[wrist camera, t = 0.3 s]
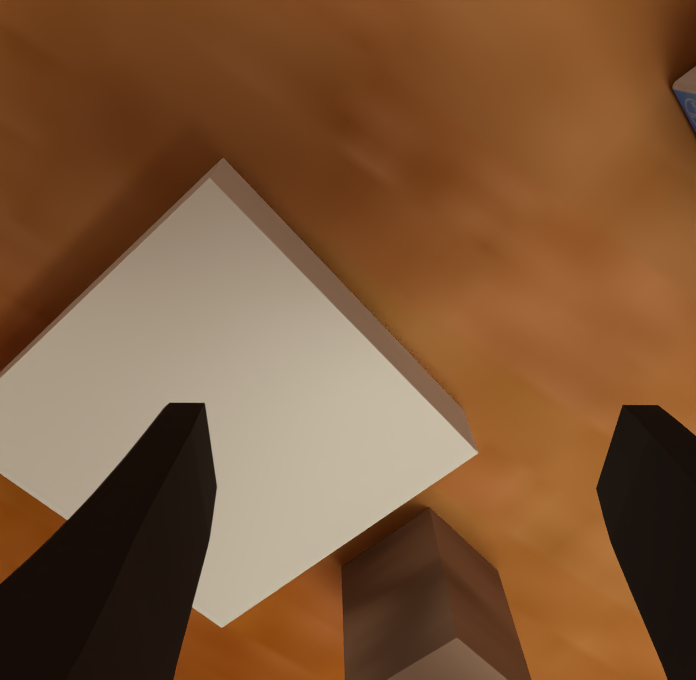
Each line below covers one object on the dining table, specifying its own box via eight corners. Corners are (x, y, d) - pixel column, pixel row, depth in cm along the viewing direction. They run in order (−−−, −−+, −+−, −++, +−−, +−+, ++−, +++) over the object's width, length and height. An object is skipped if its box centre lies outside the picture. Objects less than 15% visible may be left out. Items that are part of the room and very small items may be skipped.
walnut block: (411, 623, 29) (431, 764, 23) (341, 566, 27) (345, 704, 22) (497, 570, 27) (539, 706, 22) (429, 507, 26) (457, 637, 20)
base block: (231, 567, 28) (221, 627, 25) (-14, 383, 23) (-58, 433, 21) (461, 403, 24) (478, 453, 22) (224, 154, 20) (209, 177, 17)
